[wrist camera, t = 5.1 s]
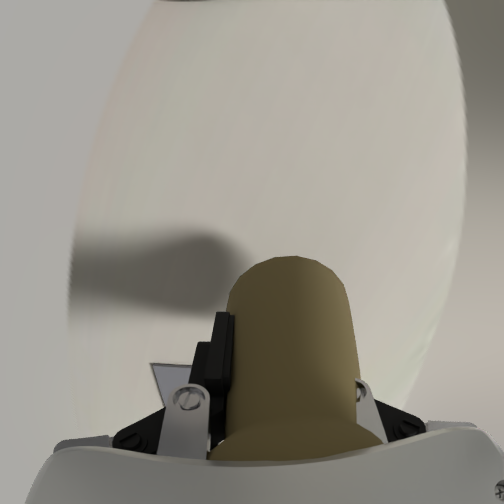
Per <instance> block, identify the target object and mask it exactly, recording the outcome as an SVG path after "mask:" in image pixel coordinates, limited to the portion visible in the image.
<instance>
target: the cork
mask: <svg viewBox="0 0 504 504" xmlns="http://www.w3.org/2000/svg"><path fill="white" fill-rule="evenodd" d="M226 312H230V315H234V331H233V348H232V365H231V383H230V391H229V392H228V394H227V398H226V401H225V420H224V441H223V442H221V443H220V444H219V445H218V446H216V447H215V448H214V449H213V450H211V451H210V452H209V455H208V459H207V460H217V461H291V460H304V459H315V458H323V457H327V456H332V455H336V454H341V453H345V452H349V451H354V450H359V449H364V448H369V447H373V446H377V445H382V444H384V443H383V442H382V440H381V439H380V438H378V437H377V436H376V435H375V434H373V433H372V432H371V431H369V430H367V429H365V428H364V427H362V426H360V425H359V424H357V412H356V403H357V402H360V397H359V398H358V399H357V388H359V386H358V384H357V383H356V381H355V378H358V379H360V380H361V377H360V369H359V362H358V354H357V348H356V341H355V335H354V329H353V323H352V317H351V311H350V306H349V301H348V297H347V294H346V291H345V287H344V284H343V283H342V282H341V281H340V279H339V278H338V277H337V276H336V274H335V273H334V272H333V271H332V270H331V269H329V268H327V267H326V266H324V265H323V264H321V263H319V262H318V261H316V260H312V259H307V258H303V257H299V256H286V257H274V258H272V259H269V260H266V261H264V262H261V263H258V264H256V265H254V266H253V267H252V268H250V269H249V270H248V271H246V272H245V273H244V274H243V275H241V276H240V277H239V279H238V280H237V282H236V283H235V285H234V286H233V288H232V290H231V291H230V294H229V299H228V304H227V308H226Z"/></svg>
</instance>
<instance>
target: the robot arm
mask: <svg viewBox="0 0 504 504" xmlns="http://www.w3.org/2000/svg"><path fill="white" fill-rule="evenodd" d="M233 331H234V315H230V312H216V317H215V322H214V327H213V332H212V338H211V342H198V344H197V347H196V351H195V356H194V360H193V364H192V368H191V372H190V376H189V381H188V384H184V385H181V386H178V387H176V388H175V389H173V390H172V391H171V393H170V394H169V397H168V401H167V405H166V407H164V408H163V409H161V410H159V411H157V412H155V413H153V414H151V415H149V416H147V417H146V418H144V419H142V420H140V421H138V422H136V423H134V424H132V425H130V426H128V427H126V428H124V429H122V430H120V431H119V432H117V434H116V435H115V436H114V437H109V436H108V435H104V436H96V437H88V438H79V439H69V440H63V441H61V442H59V443H58V444H57V445H56V446H55V448H54V452H53V454H52V455H51V456H50V457H49V458H48V459H47V460H46V462H45V463H44V465H43V466H42V468H41V470H40V471H39V473H38V475H37V477H36V479H35V480H34V483H33V485H32V487H31V489H30V492H29V494H28V496H27V499H26V502H25V504H504V452H503V451H502V449H501V448H500V446H499V445H498V443H497V442H496V441H495V440H494V438H493V437H492V436H491V435H490V434H489V433H488V432H486V431H485V430H483V429H480V428H477V426H476V425H474V424H472V423H469V422H445V421H428V422H427V423H424V422H423V421H421V419H420V418H418V417H416V416H414V415H411V414H409V413H406V412H404V411H401V410H399V409H397V408H394V407H392V406H389V405H387V404H385V403H382V402H380V401H378V400H375V399H374V398H373V395H372V392H371V389H370V388H369V386H368V384H367V383H365V382H364V381H363V380H360V379H358V378H355V381H356V383H357V384H358V386H359V388H357V399H358V398H359V397H360V402H357V403H356V412H357V424H359V425H360V426H362V427H364V428H365V429H367V430H369V431H371V432H372V433H373V434H375V435H376V436H377V437H378V438H380V439H381V440H382V442H383V443H384V444H382V445H377V446H373V447H369V448H364V449H359V450H354V451H349V452H345V453H341V454H336V455H332V456H327V457H323V458H315V459H304V460H291V461H217V460H207V459H208V455H209V452H210V451H211V450H213V449H214V448H215V447H216V446H218V445H219V444H220V442H221V441H223V440H224V420H225V401H226V398H227V394H228V392H229V391H230V383H231V365H232V348H233Z"/></svg>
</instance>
